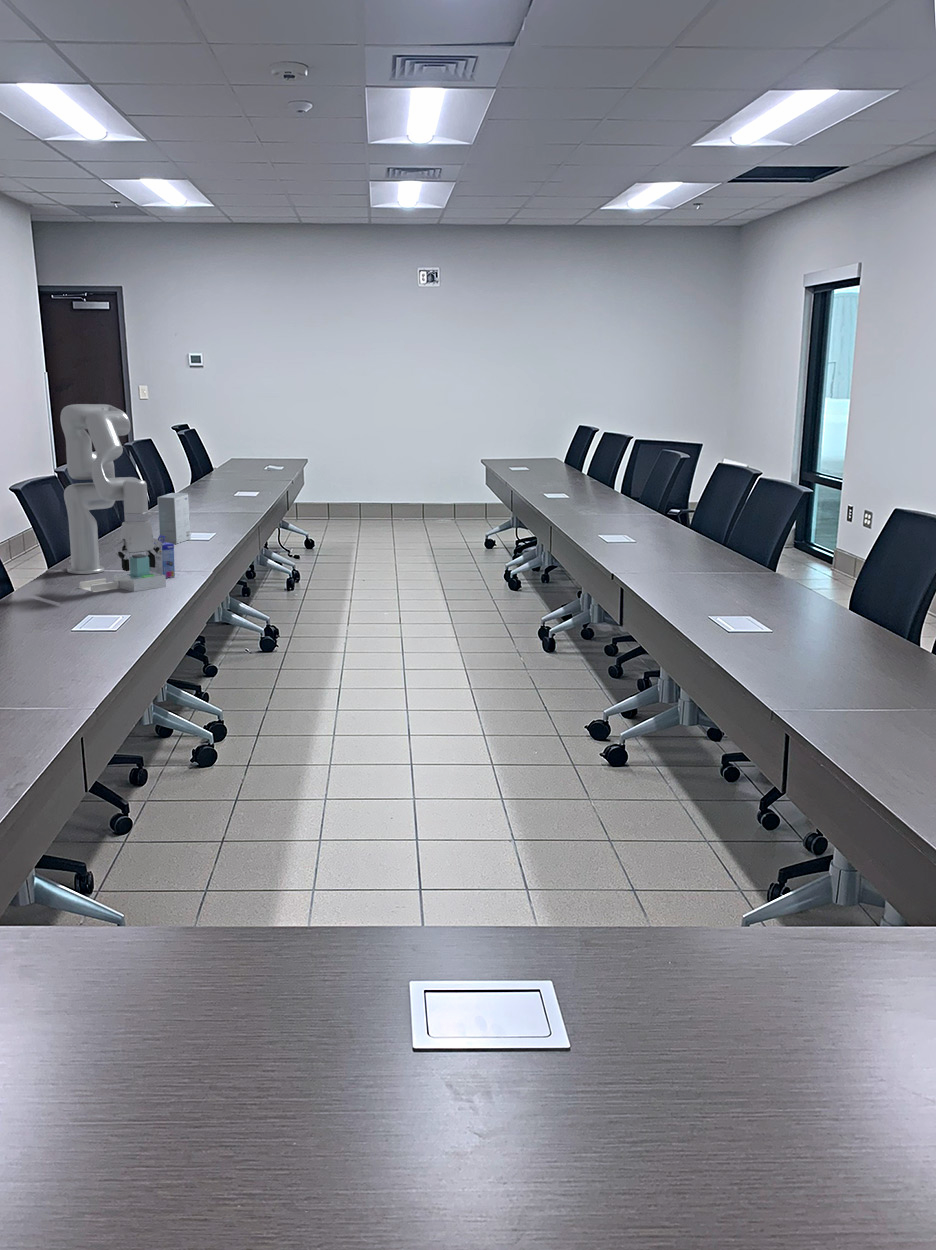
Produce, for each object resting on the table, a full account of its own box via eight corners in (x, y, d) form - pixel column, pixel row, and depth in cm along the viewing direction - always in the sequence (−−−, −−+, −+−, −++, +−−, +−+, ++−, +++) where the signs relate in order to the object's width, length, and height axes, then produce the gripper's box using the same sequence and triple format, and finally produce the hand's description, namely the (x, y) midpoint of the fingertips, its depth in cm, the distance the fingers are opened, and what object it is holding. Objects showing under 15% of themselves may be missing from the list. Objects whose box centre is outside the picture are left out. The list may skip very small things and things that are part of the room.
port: (114, 589, 350) (113, 572, 348) (145, 584, 358) (144, 568, 357) (134, 594, 342) (133, 577, 341) (166, 589, 351) (165, 573, 350)
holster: (78, 590, 346) (77, 581, 346) (103, 586, 353) (102, 578, 352) (94, 595, 340) (94, 586, 339) (119, 591, 347) (118, 582, 346)
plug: (130, 586, 350) (129, 555, 347) (142, 584, 353) (141, 553, 351) (138, 588, 347) (136, 556, 344) (150, 586, 350) (148, 555, 348)
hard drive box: (174, 538, 457) (172, 492, 452) (191, 539, 456) (189, 493, 451) (159, 543, 442) (157, 496, 437) (176, 544, 441) (174, 497, 436)
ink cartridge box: (176, 577, 372) (174, 536, 369) (163, 579, 368) (161, 538, 365) (158, 573, 378) (156, 533, 375) (145, 575, 374) (143, 535, 370)
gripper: (152, 514, 353) (155, 564, 357) (106, 518, 341) (109, 570, 345) (165, 516, 349) (168, 567, 353) (119, 521, 336) (122, 573, 340)
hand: (139, 568), depth 349 cm, fingers open, 9 cm apart
